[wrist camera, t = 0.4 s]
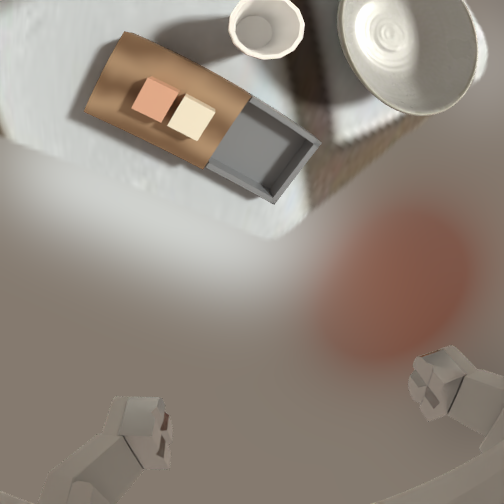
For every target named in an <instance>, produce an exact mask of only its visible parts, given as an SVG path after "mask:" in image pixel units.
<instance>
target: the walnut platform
mask: <svg viewBox="0 0 504 504" xmlns="http://www.w3.org/2000/svg"><path fill="white" fill-rule="evenodd" d="M151 76H152V77H154V78H156V79H158V80H161V81H163V82H165V83H167V84H169V85H171V86H173V87H175V88H177V89H179V90H181V91H180V92H179V94H178V95H177V97H176V99H175V100H174V102H173V104H172V106H171V107H170V109H169V111H168V112H167V114H166V116H165V118H164V119H163V121H162V122H158V121H156V120H154V119H152V118H150V117H148V116H146V115H144V114H142V113H140V112H138V111H136V110H134V109H132V106H133V104H134V102H135V100H136V98H137V96H138V94H139V93H140V91H141V89H142V87H143V85H144V83H145V82H146V80H147V78H148V77H151ZM186 94H188V95H190V96H192V97H194V98H196V99H198V100H200V101H201V102H203V103H205V104H207V105H209V106H211V107H212V108H214V109H215V114H214V116H213V117H212V119H211V120H210V122H209V123H208V125H207V127H206V128H205V130H204V131H203V133H202V135H201V136H200V138H199V139H198V141H196V140H194V139H192V138H190V137H188V136H186V135H184V134H182V133H180V132H178V131H176V130H174V129H172V128H170V127H169V126H167V125H168V124H169V122H170V120H171V118H172V117H173V115H174V113H175V111H176V110H177V108H178V106H179V105H180V103H181V101H182V100H183V98H184V96H185V95H186ZM250 98H251V95H250V94H249V93H248V92H247V91H245V90H244V89H242V88H240V87H238V86H237V85H235V84H233V83H232V82H230V81H228V80H226V79H225V78H223V77H221V76H219V75H218V74H216V73H214V72H212V71H210V70H208V69H207V68H205V67H203V66H201V65H199V64H197V63H195V62H193V61H191V60H189V59H188V58H186V57H184V56H182V55H180V54H178V53H176V52H173V51H171V50H169V49H167V48H165V47H163V46H161V45H159V44H157V43H154V42H152V41H150V40H148V39H146V38H143V37H141V36H139V35H136V34H134V33H130V32H125V31H124V33H123V35H122V36H121V38H120V40H119V41H118V43H117V45H116V47H115V48H114V50H113V52H112V54H111V56H110V58H109V60H108V61H107V63H106V65H105V67H104V69H103V71H102V73H101V75H100V77H99V79H98V81H97V83H96V85H95V87H94V90H93V92H92V94H91V96H90V98H89V101H88V103H87V105H86V107H85V110H84V112H85V113H87V114H90V115H92V116H94V117H96V118H98V119H101V120H103V121H105V122H107V123H109V124H111V125H114V126H116V127H118V128H120V129H122V130H124V131H126V132H128V133H130V134H133V135H135V136H137V137H139V138H141V139H143V140H145V141H147V142H149V143H151V144H153V145H155V146H157V147H159V148H161V149H163V150H165V151H167V152H169V153H171V154H173V155H175V156H177V157H179V158H181V159H183V160H185V161H187V162H189V163H191V164H193V165H195V166H197V167H199V168H201V169H204V167H205V165H206V164H207V162H208V161H209V159H210V157H211V156H212V154H213V153H214V151H215V150H216V148H217V147H218V145H219V143H220V142H221V140H222V139H223V137H224V136H225V134H226V133H227V131H228V130H229V128H230V127H231V125H232V124H233V122H234V121H235V119H236V118H237V116H238V115H239V113H240V112H241V110H242V109H243V108H244V106H245V105H246V103H247V102H248V100H249V99H250Z"/></svg>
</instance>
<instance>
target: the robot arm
mask: <svg viewBox="0 0 504 504" xmlns="http://www.w3.org/2000/svg"><path fill="white" fill-rule="evenodd" d="M413 367H414V369H415V370H414V372H413V373H412V374H411V375H410V378H409V382H408V387H409V392H410V395H411V397H412V398H413V400H414V401H416V402H418V403H420V410H421V412H422V413H423V415H424V416H425V418H426V419H427V421H428V422H429V421H432V420H435V419H437V418H440V417H442V416H445V415H447V414H448V416H449V417H451V418H453V419H455V420H456V421H458V422H460V423H462V424H463V425H465V426H467V427H469V428H471V429H472V430H474V431H476V432H478V433H480V434H482V435H483V436H485V437H486V438H485V439H484V441H483V442H482V444H481V445H480V448H479V450H480V452H481V453H482V454H480V455H478V456H477V457H475V458H473V459H471V460H470V461H468V462H466V463H465V464H462V465H461V466H459V467H457V468H455V469H453V470H451V471H449V472H447V473H445V474H443V475H441V476H439V477H437V478H435V479H433V480H431V481H429V482H426V483H424V484H422V485H419V486H417V487H415V488H412V489H410V490H408V491H405V492H402V493H400V494H397V495H395V496H392V497H389V498H386V499H384V500H381V501H378V502H375V503H372V504H504V377H503V376H500V375H497V374H494V373H491V372H489V371H486V370H483V369H480V370H477V369H476V368H475V367H474V365H473V364H472V363H471V362H470V361H469V360H468V359H467V358H466V357H465V356H464V355H463V354H462V353H461V352H460V351H459V350H458V349H457V348H456V347H454V346H452V345H450V346H448V347H445V348H442V349H440V350H436V351H433V352H430V353H427V354H424V355H421V356H418V357H417V358H416V359H415V360H414V363H413ZM172 439H173V428H172V422H171V419H170V416H169V415H168V414H167V413H166V412H165V403H164V401H163V398H160V397H118V396H116V397H115V398H114V399H113V400H112V403H111V406H110V409H109V412H108V415H107V418H106V421H105V424H104V428H103V431H102V434H96V435H95V436H94V437H93V438H92V439H91V440H89V441H88V442H87V443H85V444H84V445H83V446H82V447H80V448H79V449H78V450H77V451H75V452H74V453H73V454H72V455H70V456H69V457H68V458H66V459H65V460H64V461H63V462H61V463H60V464H59V465H58V466H56V467H55V468H54V469H52V470H51V471H50V472H49V473H48V475H47V478H46V481H45V483H44V486H43V489H42V492H41V495H40V498H39V501H38V504H116V503H117V502H118V501H119V500H120V499H121V497H122V496H123V495H124V494H125V493H126V492H127V490H128V489H129V488H130V487H131V486H132V484H133V483H134V482H135V481H136V480H137V478H138V477H139V476H140V474H141V473H142V472H143V469H151V470H163V469H164V470H168V469H170V461H171V451H170V449H169V447H168V446H169V445H170V444H171V443H172ZM0 504H34V503H31V502H27V501H25V500H22V499H20V498H17V497H14V496H12V495H9V494H7V493H5V492H2V491H0Z"/></svg>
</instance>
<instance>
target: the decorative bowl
mask: <svg viewBox="0 0 504 504" xmlns="http://www.w3.org/2000/svg"><path fill="white" fill-rule="evenodd" d="M337 30H338V37H339V41H340V45H341V48H342V51H343V53H344V56H345V58H346V60H347V62H348V64H349V66H350V67H351V69H352V70H353V72H354V74H355V75H356V76H357V78H358V79H359V80H360V82H361V83H362V84H363V85H364V86H365V87H366V88H367V89H368V90H369V92H371V93H372V94H373V95H374V96H375V97H376V98H377V99H379V100H380V101H381V102H383V103H384V104H386V105H387V106H389V107H391V108H393V109H395V110H397V111H400V112H402V113H406V114H409V115H416V116H428V115H434V114H438V113H440V112H443V111H445V110H447V109H449V108H450V107H452V106H453V105H455V104H456V103H457V102H458V101H459V100H460V99H461V98H462V97H463V96H464V94H465V93H466V92H467V90H468V88H469V87H470V85H471V83H472V80H473V78H474V75H475V71H476V67H477V61H478V41H477V34H476V30H475V26H474V23H473V20H472V17H471V15H470V12H469V10H468V8H467V6H466V5H465V3H464V1H463V0H340V2H339V6H338V12H337Z"/></svg>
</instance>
